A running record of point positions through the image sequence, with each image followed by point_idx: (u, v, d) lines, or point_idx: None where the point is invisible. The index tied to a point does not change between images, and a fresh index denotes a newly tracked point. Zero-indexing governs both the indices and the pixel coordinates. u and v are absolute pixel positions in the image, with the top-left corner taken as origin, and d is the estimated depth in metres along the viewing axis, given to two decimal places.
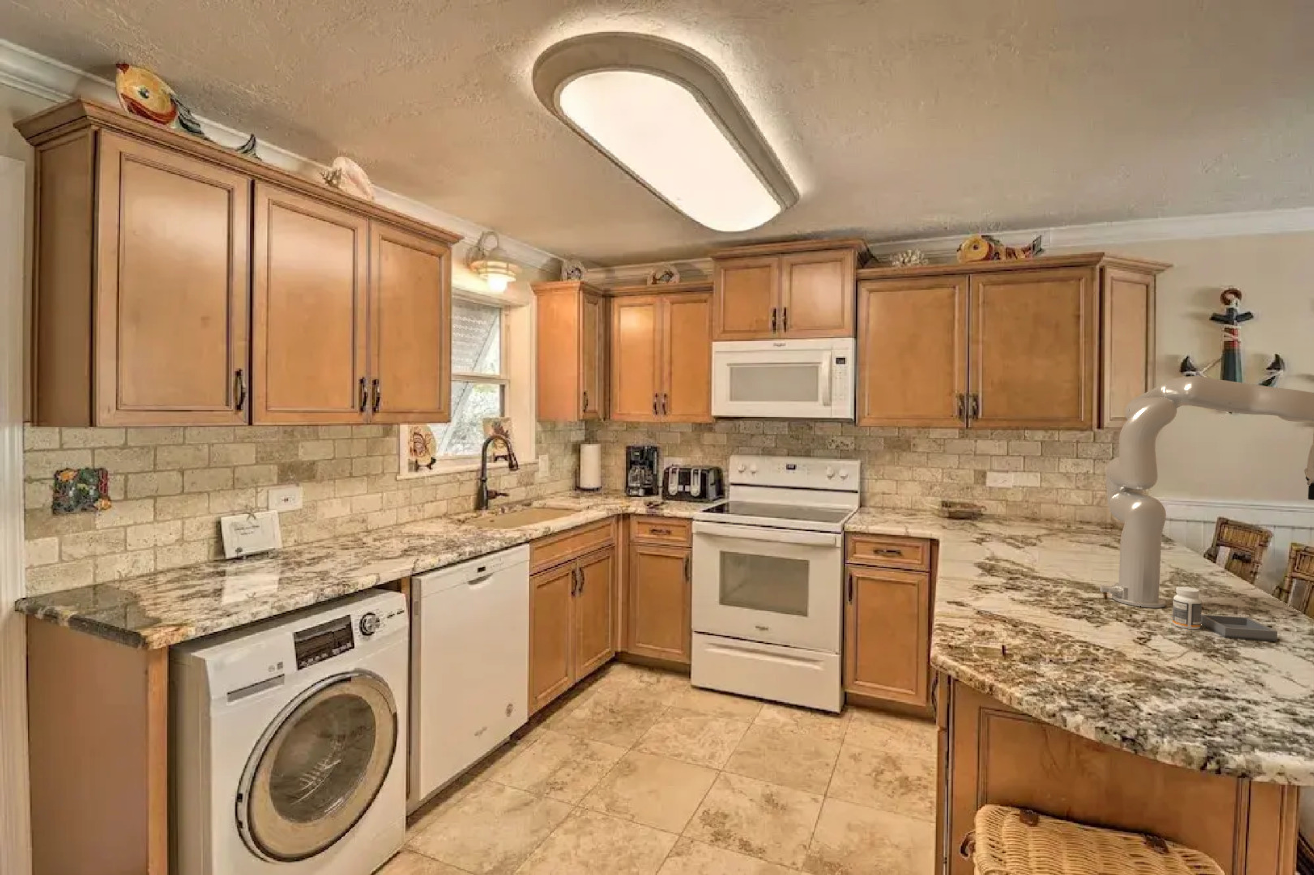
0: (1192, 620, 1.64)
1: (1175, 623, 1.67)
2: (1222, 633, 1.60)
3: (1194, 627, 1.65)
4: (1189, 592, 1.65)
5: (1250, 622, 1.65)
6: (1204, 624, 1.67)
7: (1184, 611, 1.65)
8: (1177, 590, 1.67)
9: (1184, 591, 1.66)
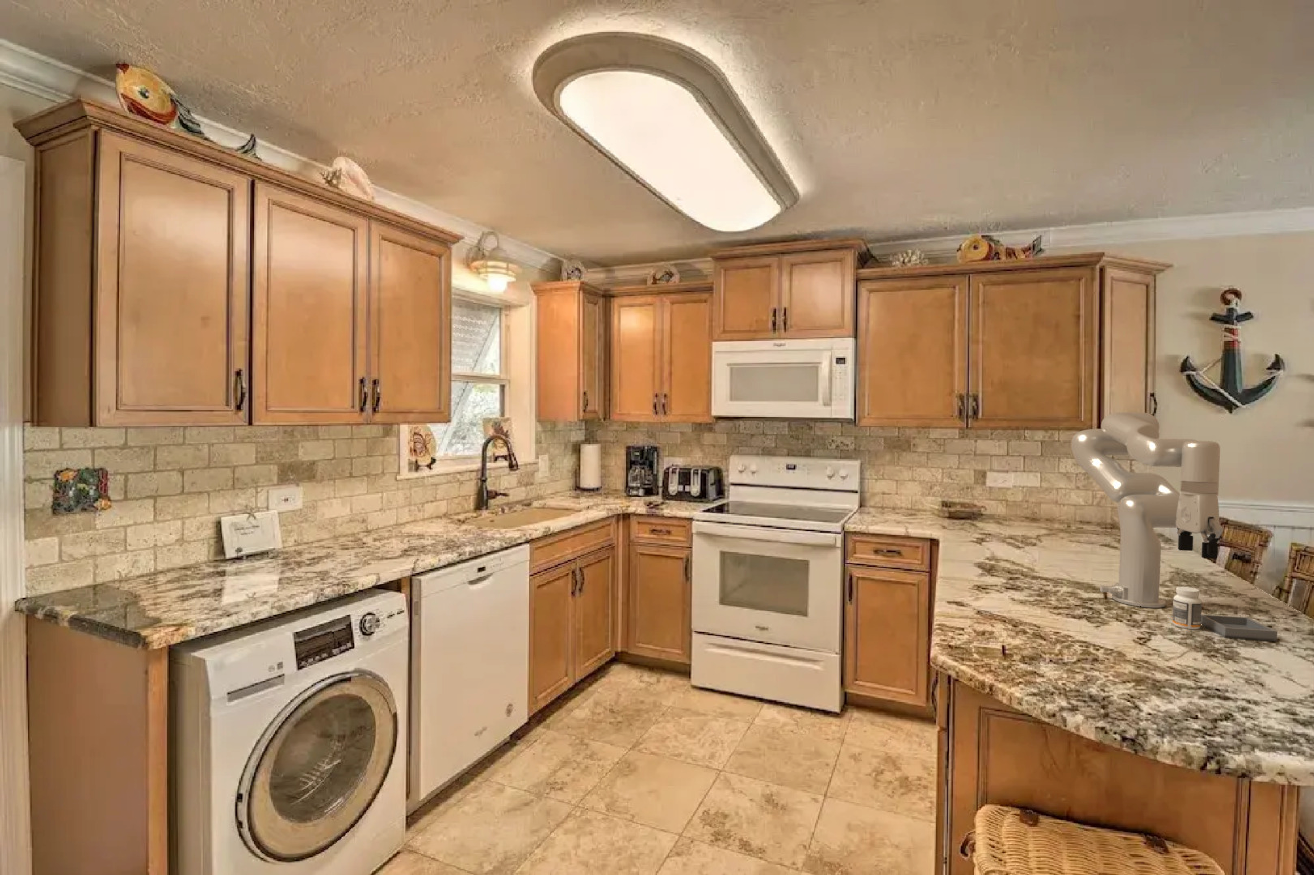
0: (1192, 620, 1.64)
1: (1175, 623, 1.67)
2: (1222, 633, 1.60)
3: (1194, 627, 1.65)
4: (1189, 592, 1.65)
5: (1250, 622, 1.65)
6: (1204, 624, 1.67)
7: (1184, 611, 1.65)
8: (1177, 590, 1.67)
9: (1184, 591, 1.66)
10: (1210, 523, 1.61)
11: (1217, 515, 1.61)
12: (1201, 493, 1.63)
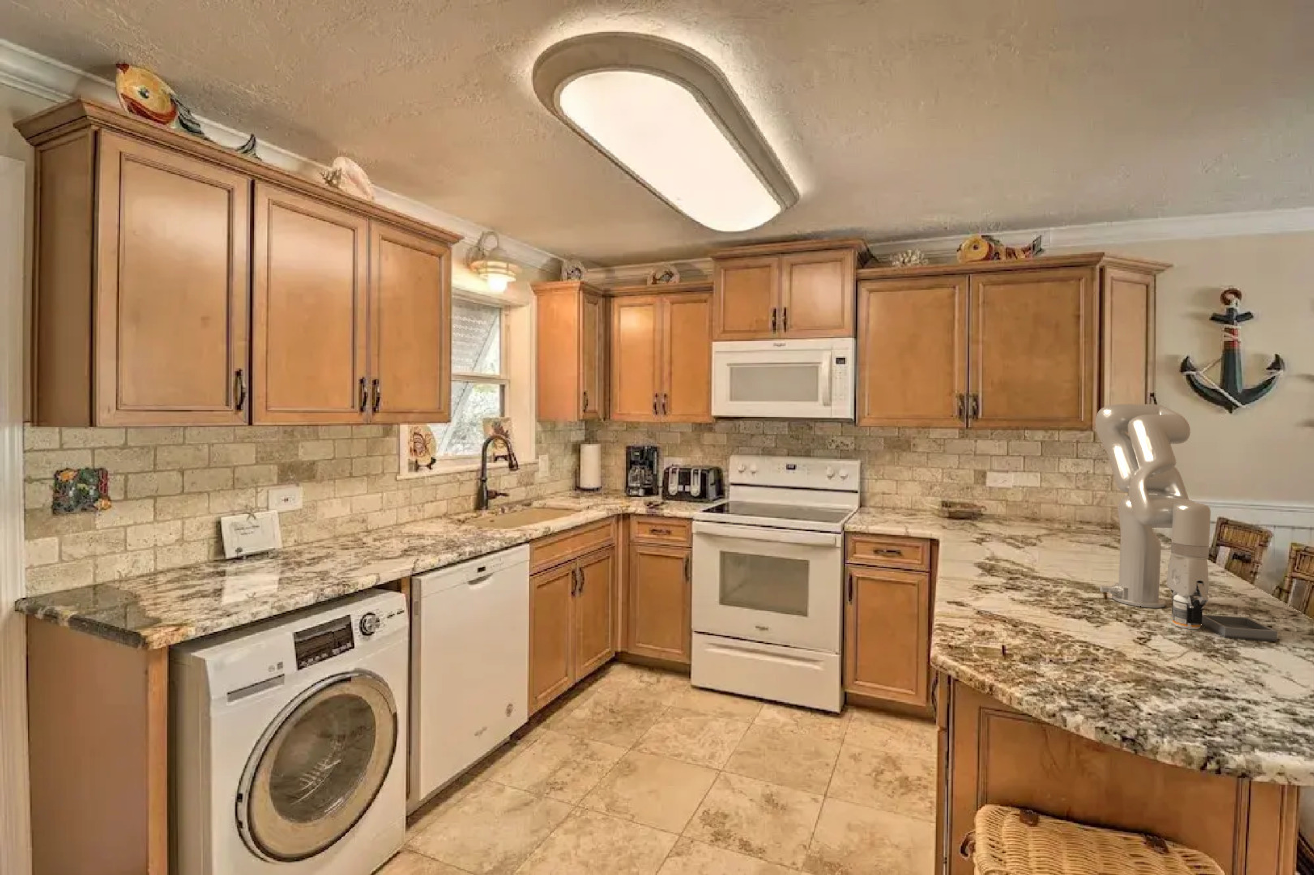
0: None
1: (1175, 623, 1.67)
2: (1222, 633, 1.60)
3: (1194, 627, 1.64)
4: None
5: (1250, 622, 1.65)
6: (1204, 624, 1.67)
7: (1184, 611, 1.65)
8: None
9: None
10: (1197, 589, 1.62)
11: (1206, 578, 1.62)
12: (1190, 556, 1.63)
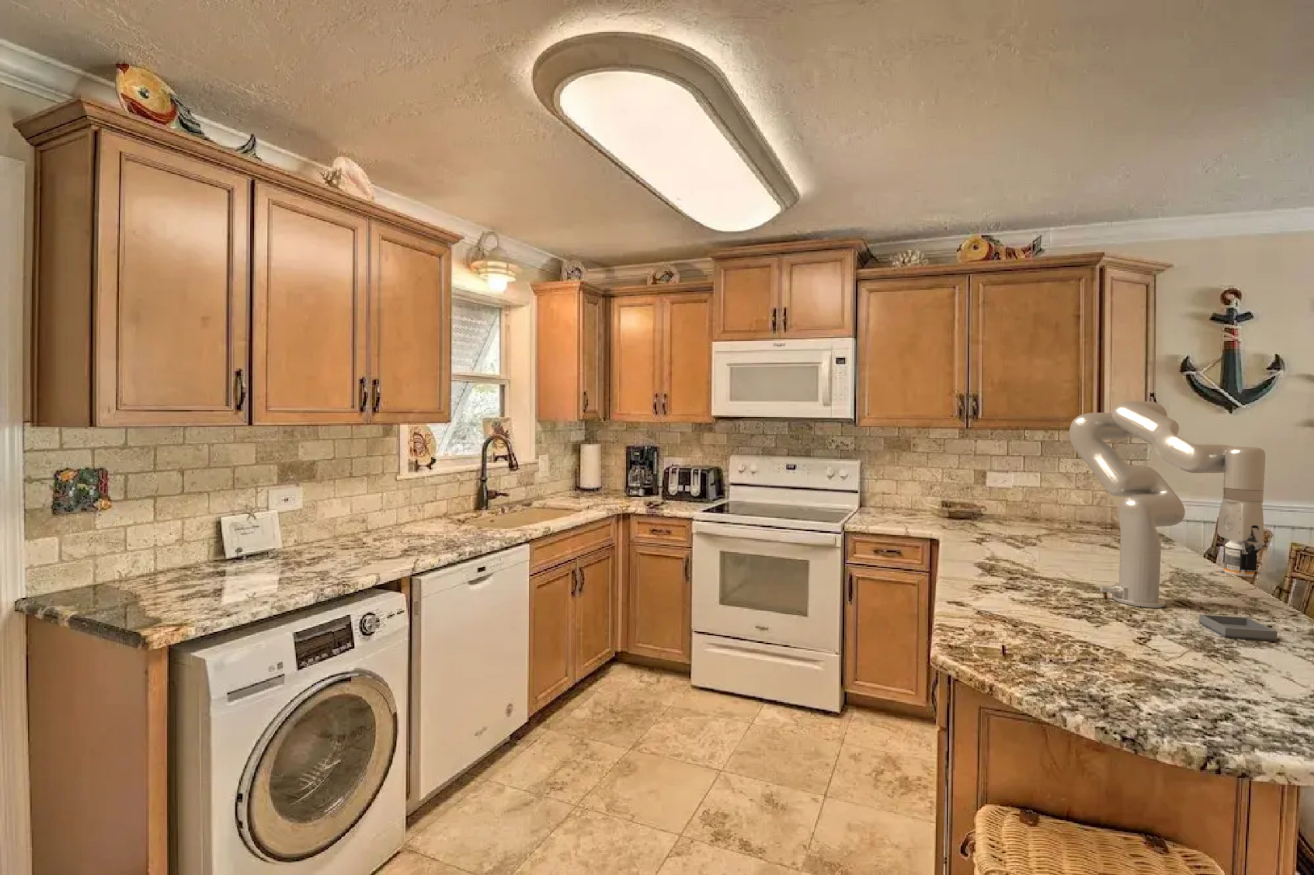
0: None
1: (1227, 571, 1.63)
2: (1222, 633, 1.60)
3: (1248, 574, 1.60)
4: None
5: (1250, 622, 1.65)
6: (1204, 624, 1.67)
7: (1237, 558, 1.60)
8: None
9: None
10: (1252, 534, 1.57)
11: (1261, 523, 1.57)
12: (1245, 501, 1.59)
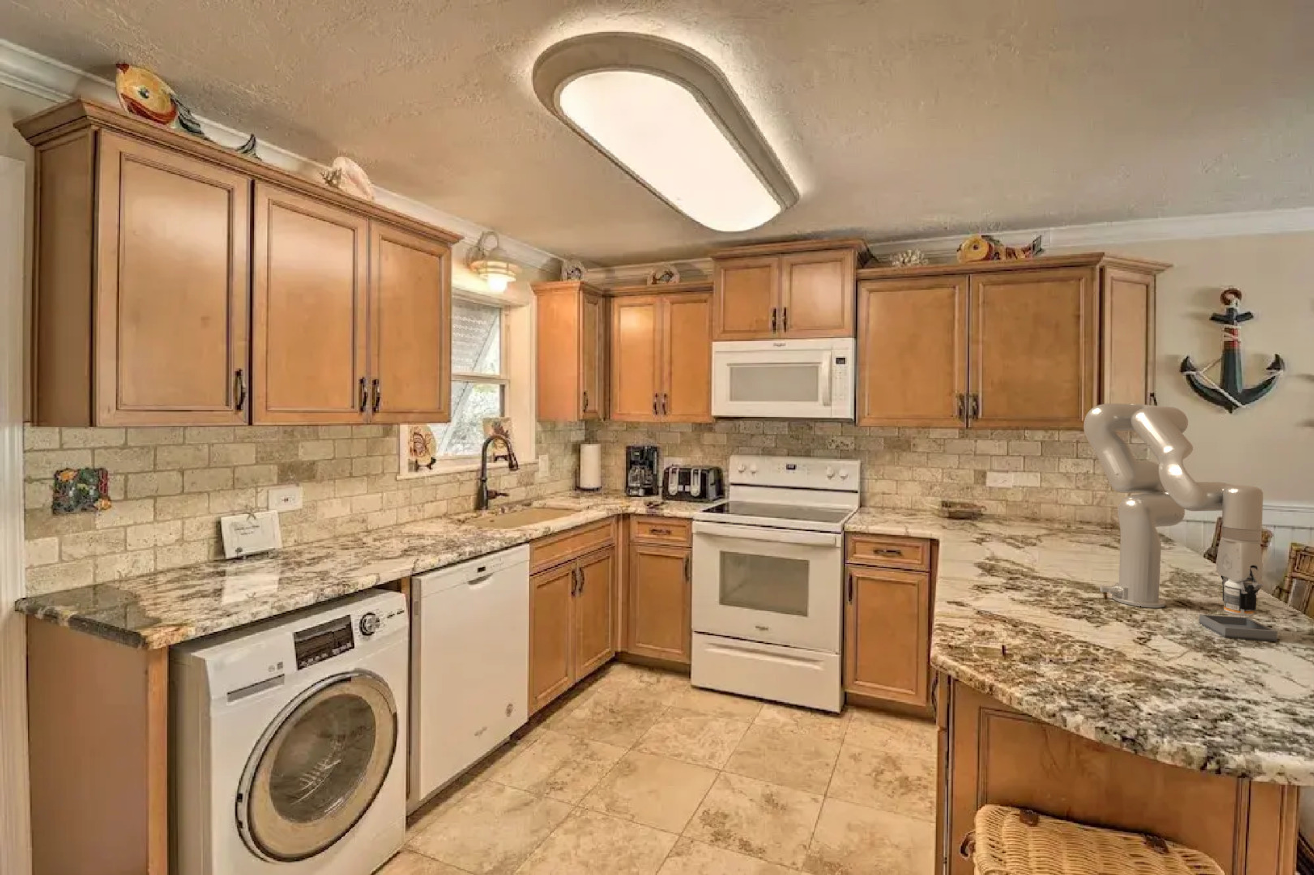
0: None
1: (1227, 610, 1.63)
2: (1222, 633, 1.60)
3: (1247, 613, 1.60)
4: None
5: (1250, 622, 1.65)
6: (1204, 624, 1.67)
7: (1236, 597, 1.61)
8: None
9: None
10: (1251, 574, 1.57)
11: (1260, 563, 1.57)
12: (1243, 540, 1.59)
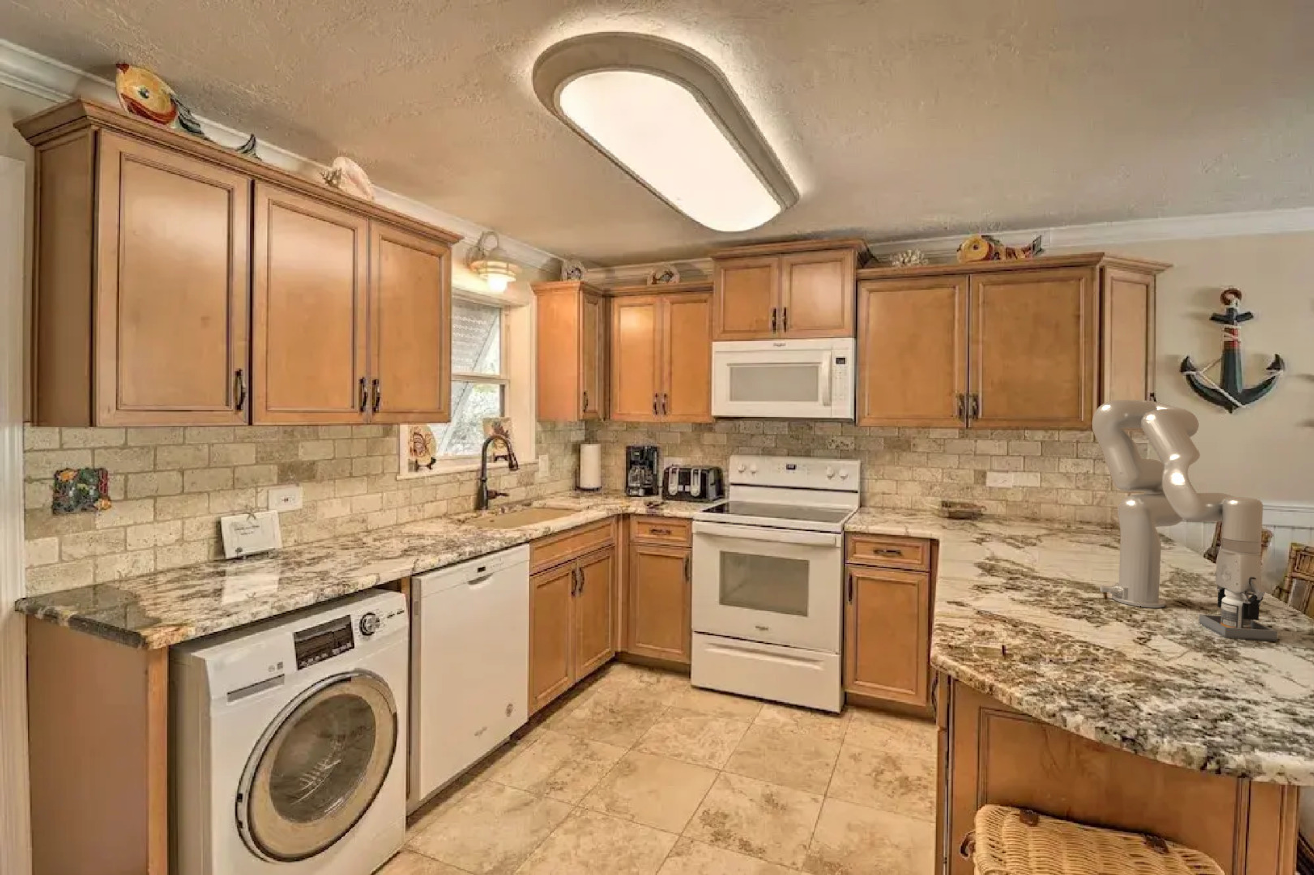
0: (1242, 623, 1.61)
1: None
2: (1222, 633, 1.60)
3: None
4: (1239, 594, 1.61)
5: None
6: (1204, 624, 1.67)
7: (1233, 614, 1.61)
8: (1226, 592, 1.63)
9: (1234, 593, 1.62)
10: (1251, 584, 1.57)
11: (1259, 575, 1.57)
12: (1242, 552, 1.59)
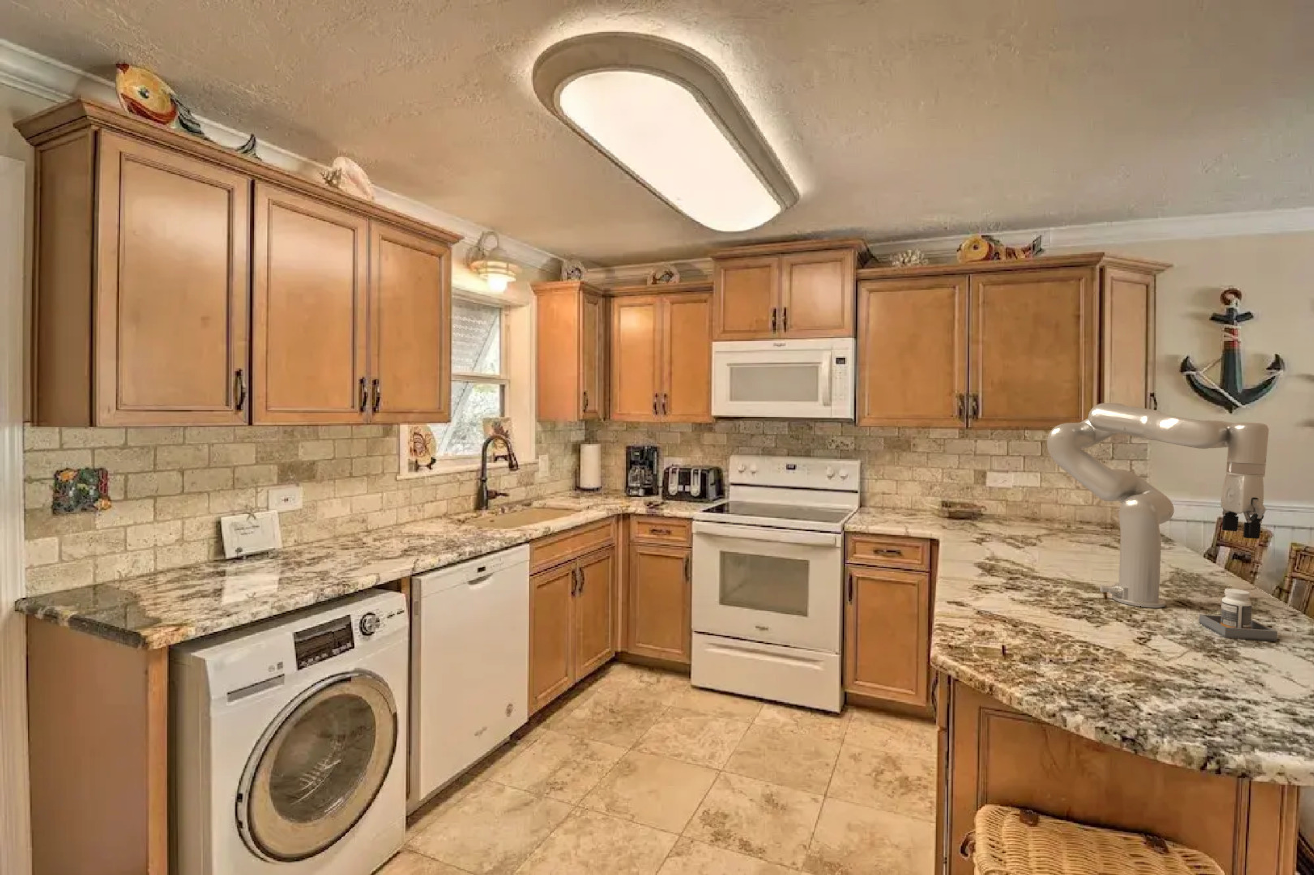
0: (1242, 623, 1.61)
1: None
2: (1222, 633, 1.60)
3: None
4: (1239, 594, 1.61)
5: None
6: (1204, 624, 1.67)
7: (1233, 614, 1.61)
8: (1226, 592, 1.63)
9: (1234, 593, 1.62)
10: (1253, 503, 1.63)
11: (1261, 495, 1.63)
12: (1246, 474, 1.65)
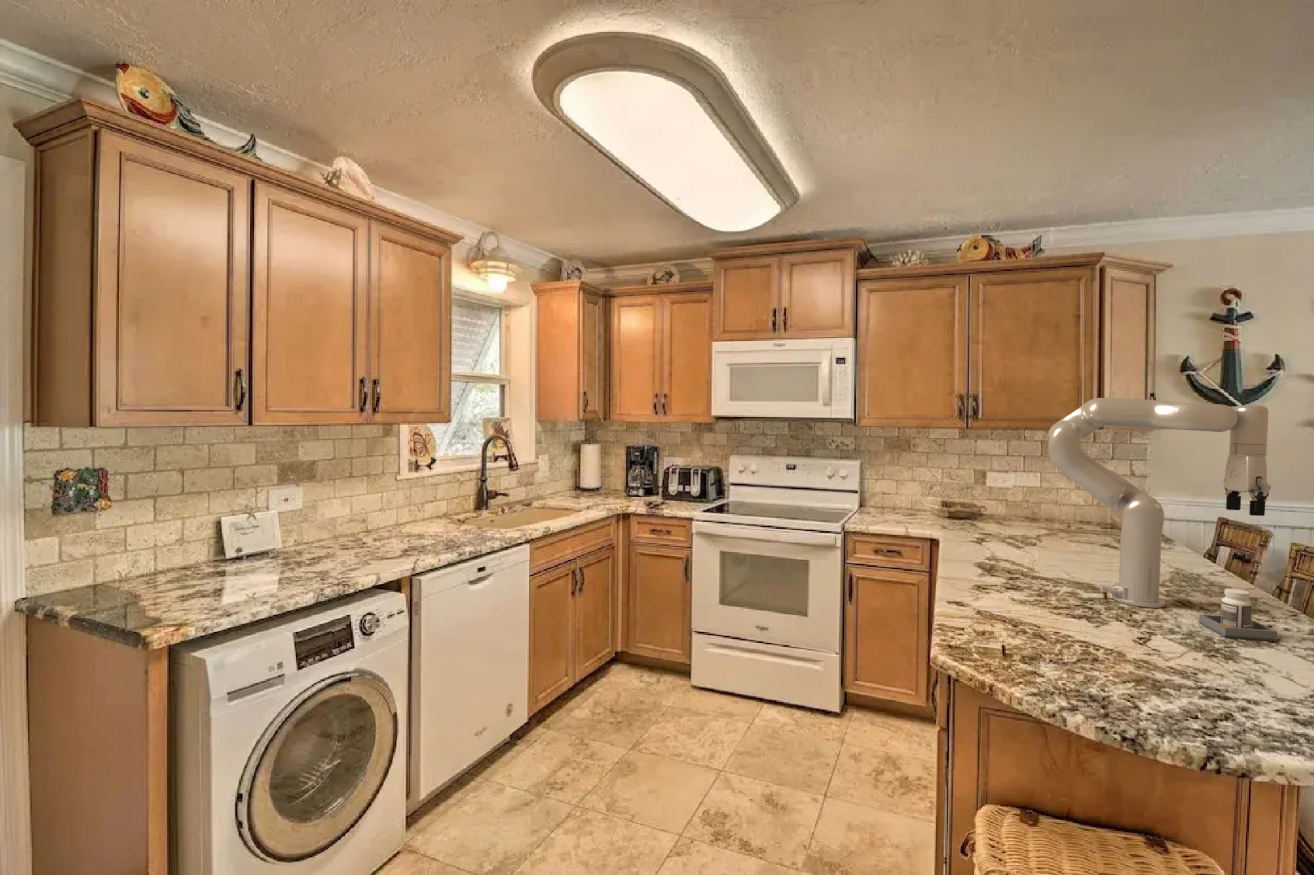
0: (1242, 623, 1.61)
1: None
2: (1222, 633, 1.60)
3: None
4: (1239, 594, 1.61)
5: None
6: (1204, 624, 1.67)
7: (1233, 614, 1.61)
8: (1226, 592, 1.63)
9: (1234, 593, 1.62)
10: (1258, 482, 1.71)
11: (1265, 474, 1.71)
12: (1249, 454, 1.73)
